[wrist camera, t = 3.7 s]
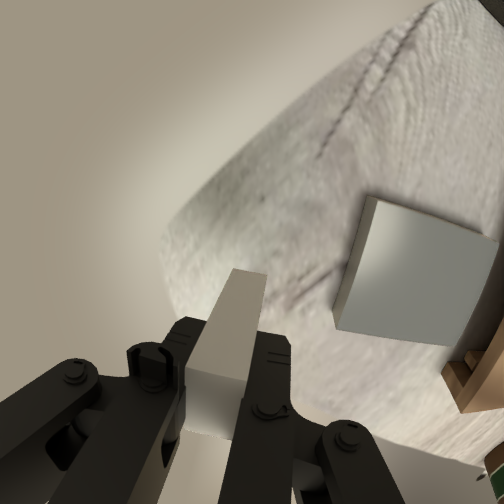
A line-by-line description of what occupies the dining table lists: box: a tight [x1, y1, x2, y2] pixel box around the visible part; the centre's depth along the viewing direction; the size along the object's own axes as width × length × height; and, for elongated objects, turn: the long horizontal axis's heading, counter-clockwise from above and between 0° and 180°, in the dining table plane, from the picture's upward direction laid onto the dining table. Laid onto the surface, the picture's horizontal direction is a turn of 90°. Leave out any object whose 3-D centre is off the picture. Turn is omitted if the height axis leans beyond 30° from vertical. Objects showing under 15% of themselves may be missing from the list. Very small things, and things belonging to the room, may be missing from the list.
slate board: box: [332, 195, 500, 347], centre depth 18 cm, size 9×11×3 cm
